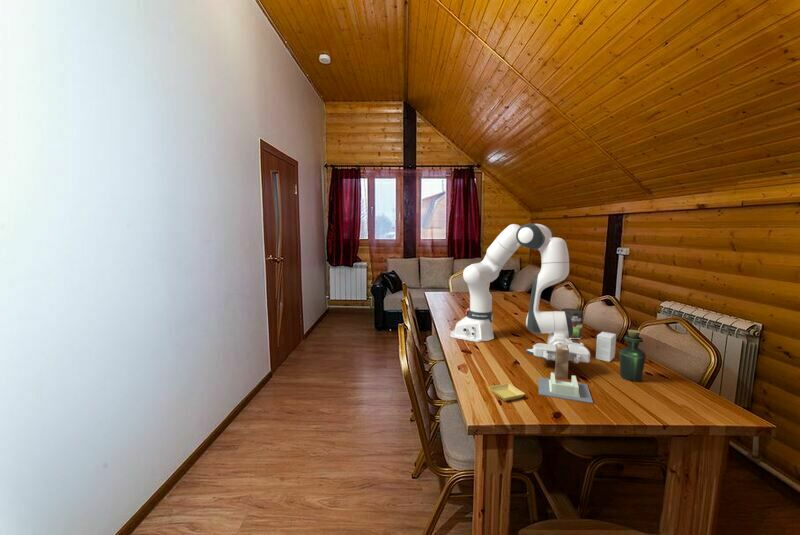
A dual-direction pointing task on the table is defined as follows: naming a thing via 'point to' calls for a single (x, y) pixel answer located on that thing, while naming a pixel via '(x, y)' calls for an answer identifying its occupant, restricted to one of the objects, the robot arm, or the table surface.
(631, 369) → the potion bottle
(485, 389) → the table surface
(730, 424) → the table surface
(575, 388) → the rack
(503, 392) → the yellow square tray
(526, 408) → the table surface
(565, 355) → the tall wooden pillar
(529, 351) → the smartphone
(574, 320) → the coffee can
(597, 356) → the small box
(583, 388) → the mat
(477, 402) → the table surface
